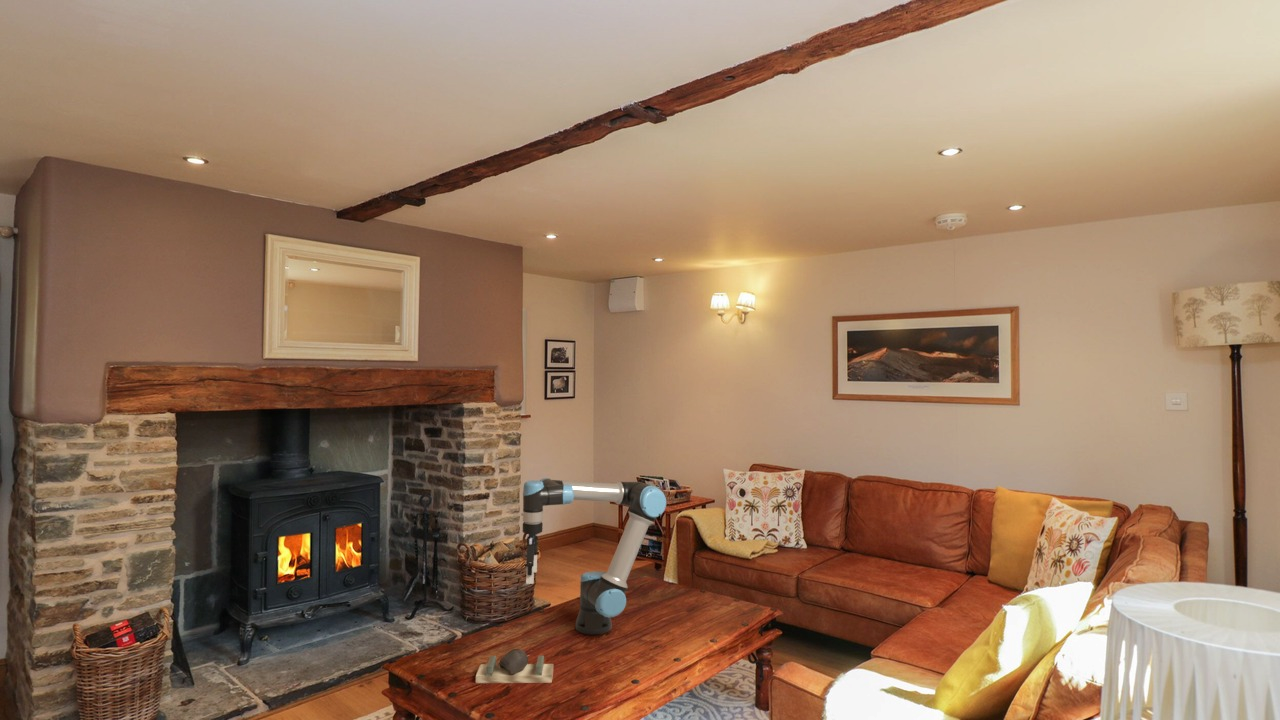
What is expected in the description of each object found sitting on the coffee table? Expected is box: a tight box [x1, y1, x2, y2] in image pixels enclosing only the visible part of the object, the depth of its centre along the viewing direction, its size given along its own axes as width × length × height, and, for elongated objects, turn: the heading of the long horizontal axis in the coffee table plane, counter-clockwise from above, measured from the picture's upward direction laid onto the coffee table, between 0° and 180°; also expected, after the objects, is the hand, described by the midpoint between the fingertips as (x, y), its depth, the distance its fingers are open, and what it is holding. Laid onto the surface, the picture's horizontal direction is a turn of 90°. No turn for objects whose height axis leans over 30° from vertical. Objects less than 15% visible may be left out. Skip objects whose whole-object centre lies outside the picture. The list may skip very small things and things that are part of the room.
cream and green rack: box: [475, 655, 555, 684], centre depth 240 cm, size 26×9×6 cm, turn 93°
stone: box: [498, 648, 529, 675], centre depth 240 cm, size 10×8×10 cm
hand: (531, 577), depth 260 cm, fingers open, 13 cm apart
